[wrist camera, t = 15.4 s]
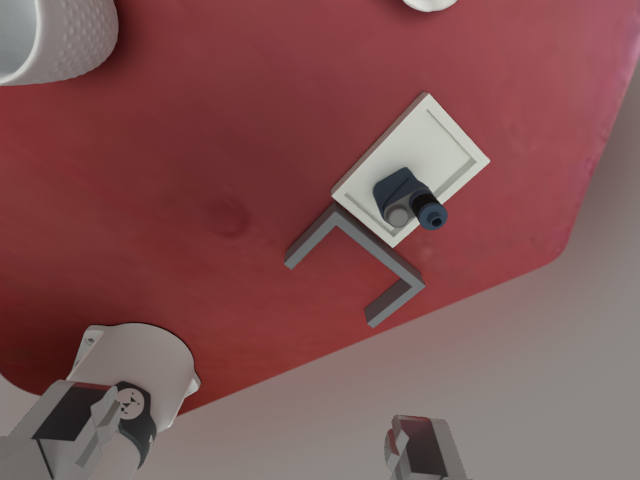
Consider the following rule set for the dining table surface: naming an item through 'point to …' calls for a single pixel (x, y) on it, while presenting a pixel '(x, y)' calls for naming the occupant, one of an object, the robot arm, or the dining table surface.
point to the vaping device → (408, 201)
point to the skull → (429, 4)
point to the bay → (338, 216)
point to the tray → (411, 164)
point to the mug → (54, 39)
